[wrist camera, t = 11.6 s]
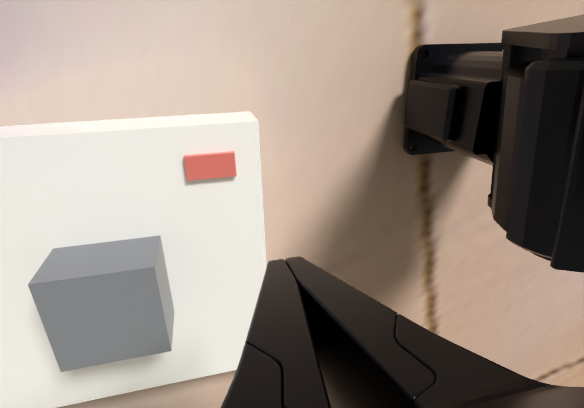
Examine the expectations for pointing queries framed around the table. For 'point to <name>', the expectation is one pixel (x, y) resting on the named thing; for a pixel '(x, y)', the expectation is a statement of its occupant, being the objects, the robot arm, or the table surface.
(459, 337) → the table surface
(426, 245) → the table surface
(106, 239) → the socket plate
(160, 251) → the plug
